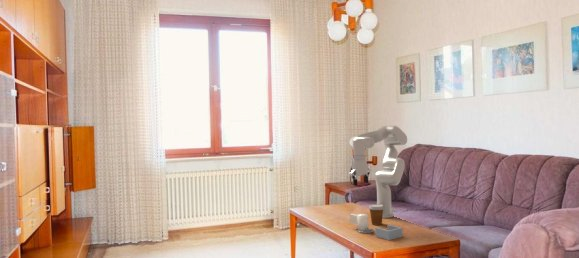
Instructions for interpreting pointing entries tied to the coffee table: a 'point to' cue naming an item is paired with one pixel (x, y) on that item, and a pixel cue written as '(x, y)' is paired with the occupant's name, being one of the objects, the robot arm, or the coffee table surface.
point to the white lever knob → (360, 221)
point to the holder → (389, 232)
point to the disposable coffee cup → (376, 213)
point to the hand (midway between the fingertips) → (360, 183)
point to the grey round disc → (366, 231)
